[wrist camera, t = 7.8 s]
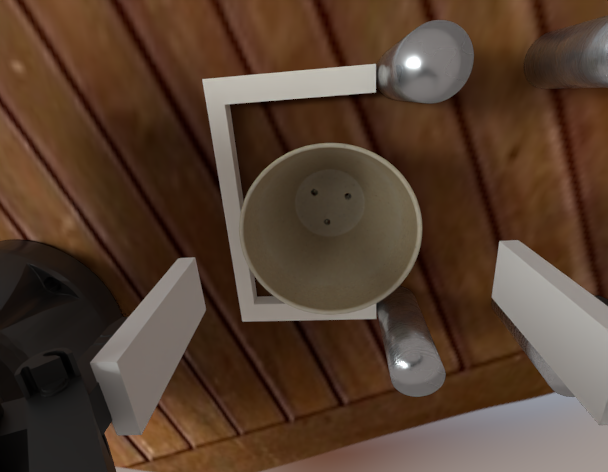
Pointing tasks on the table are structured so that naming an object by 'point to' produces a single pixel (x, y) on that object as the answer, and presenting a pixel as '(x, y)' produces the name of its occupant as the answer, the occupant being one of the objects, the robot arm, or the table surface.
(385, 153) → the table surface
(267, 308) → the frame
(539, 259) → the robot arm
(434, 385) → the spacers
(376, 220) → the flower pot
